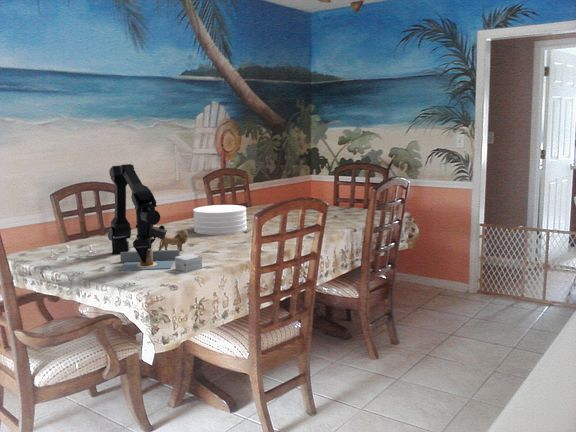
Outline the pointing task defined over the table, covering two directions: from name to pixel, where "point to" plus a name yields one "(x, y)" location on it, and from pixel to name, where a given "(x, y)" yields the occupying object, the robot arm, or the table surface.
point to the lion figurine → (174, 240)
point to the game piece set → (68, 250)
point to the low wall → (156, 256)
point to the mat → (137, 266)
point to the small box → (188, 262)
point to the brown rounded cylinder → (148, 258)
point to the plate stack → (220, 219)
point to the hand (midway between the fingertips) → (146, 259)
